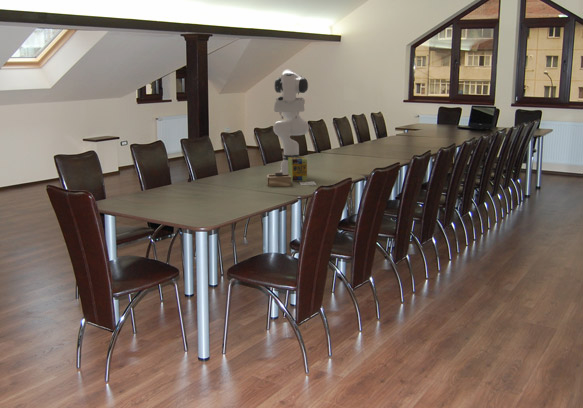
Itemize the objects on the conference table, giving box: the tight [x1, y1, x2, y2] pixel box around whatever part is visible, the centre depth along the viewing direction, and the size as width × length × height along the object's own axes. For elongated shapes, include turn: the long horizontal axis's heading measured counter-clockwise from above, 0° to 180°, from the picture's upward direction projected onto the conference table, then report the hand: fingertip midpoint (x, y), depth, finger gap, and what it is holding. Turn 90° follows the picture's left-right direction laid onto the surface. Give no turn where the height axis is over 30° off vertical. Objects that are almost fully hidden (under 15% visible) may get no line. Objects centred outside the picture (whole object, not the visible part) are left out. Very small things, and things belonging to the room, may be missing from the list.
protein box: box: [288, 156, 308, 182], centre depth 446 cm, size 10×15×16 cm
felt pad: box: [298, 181, 317, 187], centre depth 430 cm, size 12×10×1 cm
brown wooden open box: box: [266, 173, 292, 187], centre depth 428 cm, size 12×15×6 cm
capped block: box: [274, 170, 283, 177], centre depth 427 cm, size 6×4×8 cm
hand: (289, 118), depth 432 cm, fingers open, 8 cm apart
